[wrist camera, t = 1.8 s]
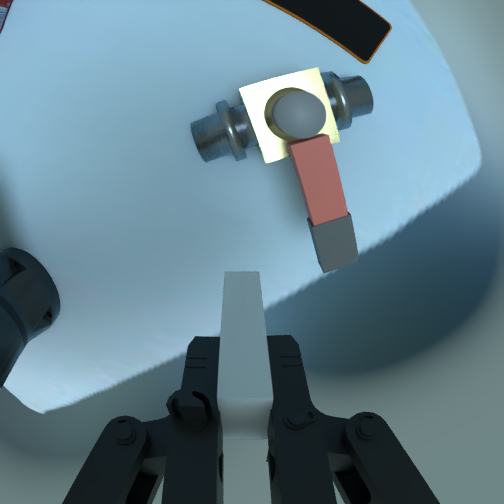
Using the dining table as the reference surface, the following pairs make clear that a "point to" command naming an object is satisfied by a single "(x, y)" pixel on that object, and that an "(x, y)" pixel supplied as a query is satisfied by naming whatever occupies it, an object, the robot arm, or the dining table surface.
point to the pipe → (260, 114)
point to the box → (4, 10)
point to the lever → (317, 178)
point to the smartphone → (341, 23)
